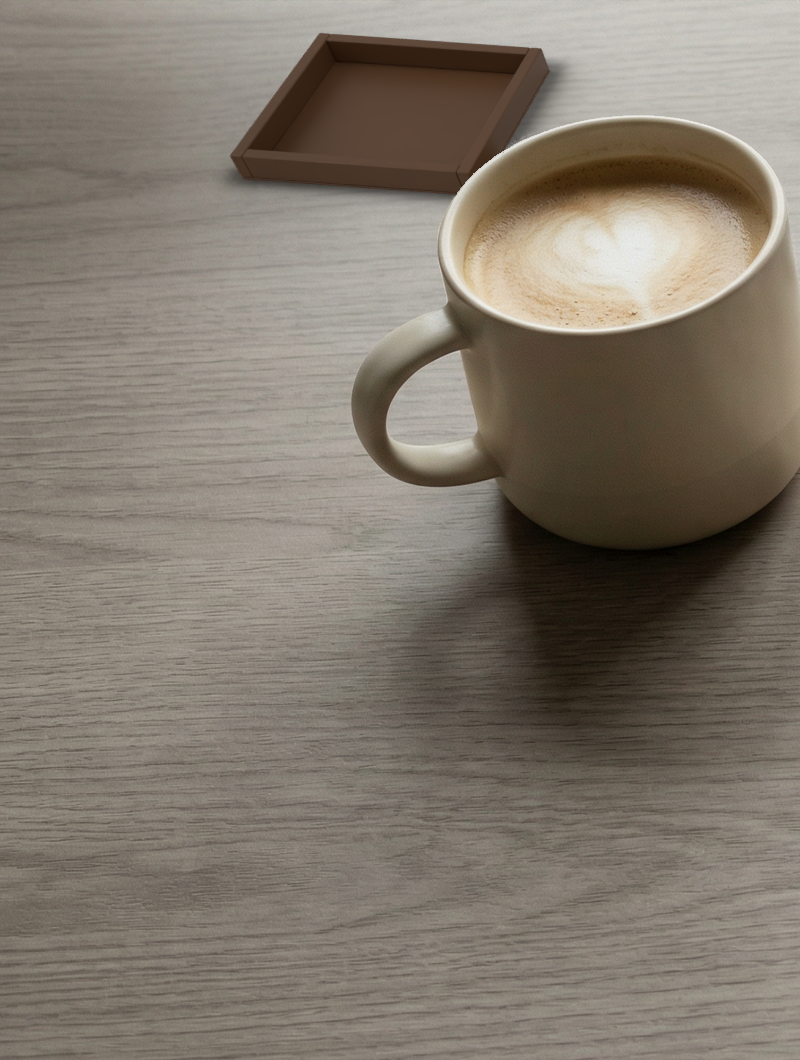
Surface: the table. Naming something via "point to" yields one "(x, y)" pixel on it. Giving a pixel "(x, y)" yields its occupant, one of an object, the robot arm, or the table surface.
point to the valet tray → (391, 113)
